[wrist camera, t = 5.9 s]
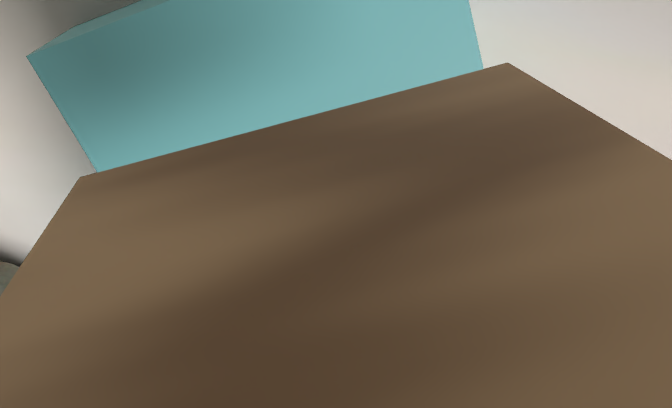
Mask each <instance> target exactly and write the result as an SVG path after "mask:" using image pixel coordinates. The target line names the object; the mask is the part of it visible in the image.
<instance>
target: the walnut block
mask: <svg viewBox="0 0 672 408" xmlns="http://www.w3.org/2000/svg"><path fill="white" fill-rule="evenodd" d="M0 408H672V160H670V159H669V158H667V157H665V156H664V155H662V154H660V153H659V152H657V151H655V150H654V149H652V148H650V147H649V146H647V145H645V144H644V143H642V142H640V141H639V140H637V139H635V138H634V137H632V136H630V135H629V134H627V133H625V132H624V131H622V130H620V129H618V128H617V127H615V126H613V125H612V124H610V123H608V122H607V121H605V120H603V119H602V118H600V117H598V116H597V115H595V114H593V113H592V112H590V111H588V110H587V109H585V108H583V107H582V106H580V105H578V104H577V103H575V102H573V101H572V100H570V99H568V98H566V97H565V96H563V95H561V94H560V93H558V92H556V91H555V90H553V89H551V88H550V87H548V86H546V85H545V84H543V83H541V82H540V81H538V80H536V79H535V78H533V77H531V76H530V75H528V74H526V73H525V72H523V71H521V70H520V69H518V68H516V67H515V66H513V65H511V64H509V63H504V64H500V65H497V66H493V67H489V68H486V69H482V70H478V71H474V72H471V73H467V74H463V75H459V76H456V77H452V78H448V79H445V80H441V81H437V82H433V83H430V84H426V85H422V86H418V87H415V88H411V89H407V90H404V91H400V92H396V93H392V94H389V95H385V96H381V97H377V98H374V99H370V100H366V101H363V102H359V103H355V104H351V105H348V106H344V107H340V108H336V109H333V110H329V111H325V112H321V113H318V114H314V115H310V116H307V117H303V118H299V119H295V120H292V121H288V122H284V123H280V124H277V125H273V126H269V127H266V128H262V129H258V130H254V131H251V132H247V133H243V134H239V135H236V136H232V137H228V138H225V139H221V140H217V141H213V142H210V143H206V144H202V145H198V146H195V147H191V148H187V149H184V150H180V151H176V152H172V153H169V154H165V155H161V156H157V157H154V158H150V159H146V160H142V161H139V162H135V163H131V164H128V165H124V166H120V167H116V168H113V169H109V170H105V171H101V172H98V173H94V174H90V175H87V176H83V177H80V178H79V179H78V181H77V182H76V184H75V185H74V187H73V188H72V190H71V191H70V193H69V194H68V196H67V197H66V199H65V200H64V202H63V203H62V205H61V206H60V208H59V209H58V211H57V212H56V214H55V215H54V217H53V218H52V220H51V221H50V223H49V224H48V226H47V227H46V229H45V230H44V232H43V233H42V235H41V236H40V238H39V239H38V241H37V242H36V244H35V245H34V247H33V248H32V250H31V251H30V253H29V254H28V256H27V257H26V258H25V260H24V261H23V263H22V264H21V266H20V267H19V269H18V270H17V272H16V273H15V275H14V276H13V278H12V279H11V281H10V282H9V284H8V285H7V287H6V288H5V290H4V291H3V293H2V294H1V296H0Z"/></svg>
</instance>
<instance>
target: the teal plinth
mask: <svg viewBox="0 0 672 408" xmlns="http://www.w3.org/2000/svg"><path fill="white" fill-rule="evenodd" d="M26 57H27V58H28V60H29V62H30V63H31V65H32V66H33V68H34V70H35V71H36V73H37V75H38V76H39V78H40V80H41V81H42V83H43V84H44V86H45V88H46V89H47V91H48V93H49V94H50V96H51V97H52V99H53V101H54V102H55V104H56V106H57V107H58V109H59V111H60V112H61V114H62V115H63V117H64V119H65V120H66V122H67V124H68V125H69V127H70V128H71V130H72V132H73V133H74V135H75V137H76V138H77V140H78V141H79V143H80V145H81V146H82V148H83V150H84V151H85V153H86V155H87V156H88V158H89V159H90V161H91V163H92V164H93V166H94V168H95V169H96V171H97V172H101V171H105V170H109V169H113V168H116V167H120V166H124V165H128V164H131V163H135V162H139V161H142V160H146V159H150V158H154V157H157V156H161V155H165V154H169V153H172V152H176V151H180V150H184V149H187V148H191V147H195V146H198V145H202V144H206V143H210V142H213V141H217V140H221V139H225V138H228V137H232V136H236V135H239V134H243V133H247V132H251V131H254V130H258V129H262V128H266V127H269V126H273V125H277V124H280V123H284V122H288V121H292V120H295V119H299V118H303V117H307V116H310V115H314V114H318V113H321V112H325V111H329V110H333V109H336V108H340V107H344V106H348V105H351V104H355V103H359V102H363V101H366V100H370V99H374V98H377V97H381V96H385V95H389V94H392V93H396V92H400V91H404V90H407V89H411V88H415V87H418V86H422V85H426V84H430V83H433V82H437V81H441V80H445V79H448V78H452V77H456V76H459V75H463V74H467V73H471V72H474V71H478V70H482V69H483V64H482V60H481V55H480V51H479V46H478V41H477V37H476V32H475V28H474V23H473V19H472V14H471V10H470V5H469V1H468V0H141V1H139V2H136V3H133V4H131V5H128V6H126V7H123V8H121V9H118V10H116V11H113V12H110V13H108V14H105V15H103V16H100V17H98V18H95V19H93V20H90V21H87V22H85V23H82V24H80V25H77V26H75V27H72V28H71V29H69V30H68V31H66V32H64V33H63V34H61V35H60V36H58V37H56V38H55V39H53V40H52V41H50V42H48V43H47V44H45V45H44V46H42V47H40V48H39V49H37V50H36V51H34V52H32V53H31V54H29V55H28V56H26Z"/></svg>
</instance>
